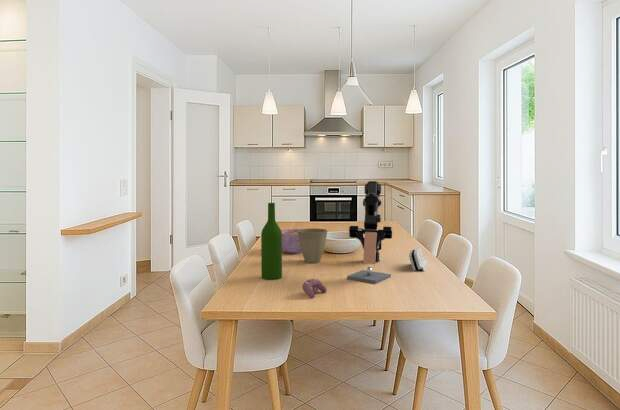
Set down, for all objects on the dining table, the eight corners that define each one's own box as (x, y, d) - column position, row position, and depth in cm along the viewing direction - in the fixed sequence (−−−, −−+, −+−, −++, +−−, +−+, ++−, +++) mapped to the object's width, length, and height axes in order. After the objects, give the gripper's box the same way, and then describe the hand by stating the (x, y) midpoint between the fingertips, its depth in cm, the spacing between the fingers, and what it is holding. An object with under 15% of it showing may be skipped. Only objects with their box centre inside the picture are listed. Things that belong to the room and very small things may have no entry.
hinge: (424, 271, 221) (417, 250, 221) (414, 274, 222) (407, 253, 223) (428, 264, 236) (422, 244, 236) (419, 266, 238) (413, 247, 238)
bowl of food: (278, 248, 276) (278, 228, 275) (313, 249, 274) (313, 229, 273) (272, 255, 256) (272, 234, 255) (309, 256, 254) (310, 234, 253)
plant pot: (326, 258, 249) (326, 228, 247) (328, 264, 234) (328, 232, 233) (297, 258, 248) (297, 228, 247) (297, 264, 234) (297, 232, 232)
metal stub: (366, 275, 208) (366, 267, 208) (368, 274, 210) (368, 267, 209) (370, 275, 207) (370, 268, 207) (372, 275, 209) (372, 267, 208)
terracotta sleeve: (363, 260, 211) (365, 231, 209) (375, 261, 210) (376, 232, 209) (363, 263, 206) (364, 233, 204) (374, 264, 205) (376, 234, 204)
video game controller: (319, 295, 188) (312, 278, 189) (328, 291, 185) (321, 274, 186) (305, 301, 179) (298, 283, 181) (314, 297, 177) (307, 279, 178)
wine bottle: (272, 273, 215) (272, 201, 212) (286, 277, 209) (286, 203, 206) (257, 277, 209) (256, 202, 206) (270, 281, 202) (270, 204, 199)
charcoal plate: (347, 278, 207) (347, 276, 207) (362, 272, 218) (362, 269, 218) (376, 283, 199) (376, 280, 199) (390, 276, 210) (390, 274, 210)
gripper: (349, 207, 211) (347, 236, 201) (392, 208, 208) (392, 237, 198) (350, 222, 219) (348, 251, 210) (391, 223, 217) (391, 252, 207)
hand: (370, 247), depth 206 cm, fingers closed on terracotta sleeve, 5 cm apart
